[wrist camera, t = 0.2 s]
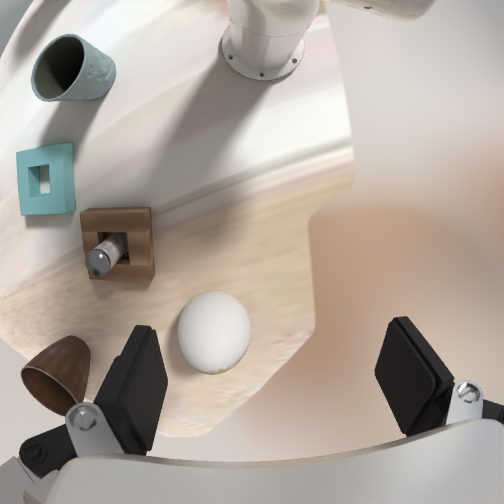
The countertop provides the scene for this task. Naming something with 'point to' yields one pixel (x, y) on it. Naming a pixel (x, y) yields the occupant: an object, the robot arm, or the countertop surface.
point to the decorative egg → (213, 332)
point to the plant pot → (59, 374)
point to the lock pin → (107, 254)
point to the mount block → (138, 238)
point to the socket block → (60, 180)
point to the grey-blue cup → (72, 71)
